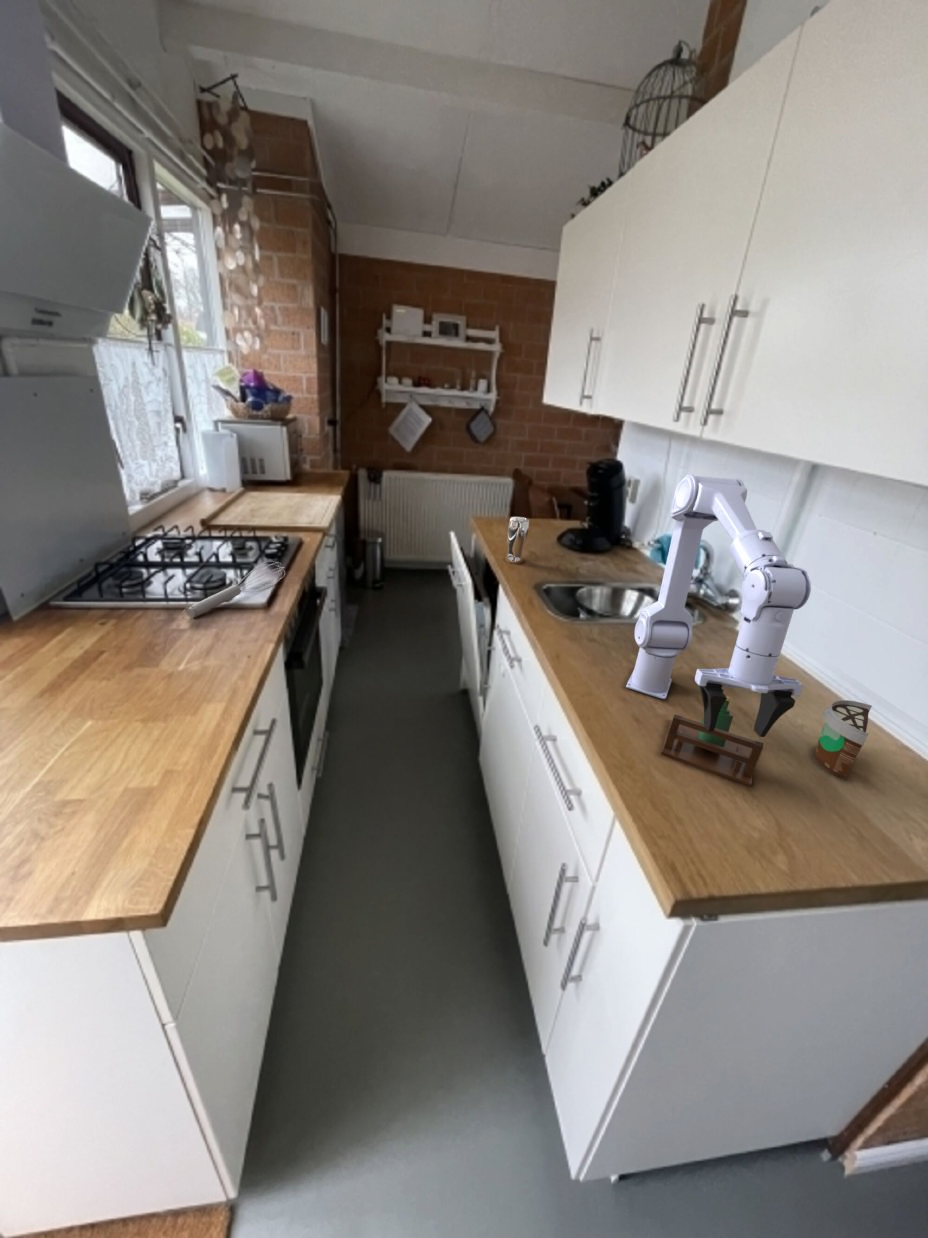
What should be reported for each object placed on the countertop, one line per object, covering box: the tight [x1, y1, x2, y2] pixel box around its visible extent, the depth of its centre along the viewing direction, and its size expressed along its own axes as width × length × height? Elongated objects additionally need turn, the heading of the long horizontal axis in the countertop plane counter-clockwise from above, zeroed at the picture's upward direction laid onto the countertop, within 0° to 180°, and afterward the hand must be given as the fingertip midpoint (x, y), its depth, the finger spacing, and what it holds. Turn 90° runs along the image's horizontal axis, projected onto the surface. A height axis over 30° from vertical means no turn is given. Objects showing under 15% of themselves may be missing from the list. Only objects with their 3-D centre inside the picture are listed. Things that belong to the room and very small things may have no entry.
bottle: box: [697, 696, 734, 747], centre depth 89 cm, size 4×4×9 cm
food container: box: [813, 699, 873, 780], centre depth 89 cm, size 12×6×10 cm, turn 141°
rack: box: [660, 713, 764, 787], centre depth 88 cm, size 11×14×7 cm
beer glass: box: [504, 516, 530, 564], centre depth 177 cm, size 7×7×15 cm
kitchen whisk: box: [180, 560, 286, 621], centre depth 130 cm, size 6×34×6 cm, turn 159°
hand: (733, 731), depth 78 cm, fingers open, 7 cm apart
